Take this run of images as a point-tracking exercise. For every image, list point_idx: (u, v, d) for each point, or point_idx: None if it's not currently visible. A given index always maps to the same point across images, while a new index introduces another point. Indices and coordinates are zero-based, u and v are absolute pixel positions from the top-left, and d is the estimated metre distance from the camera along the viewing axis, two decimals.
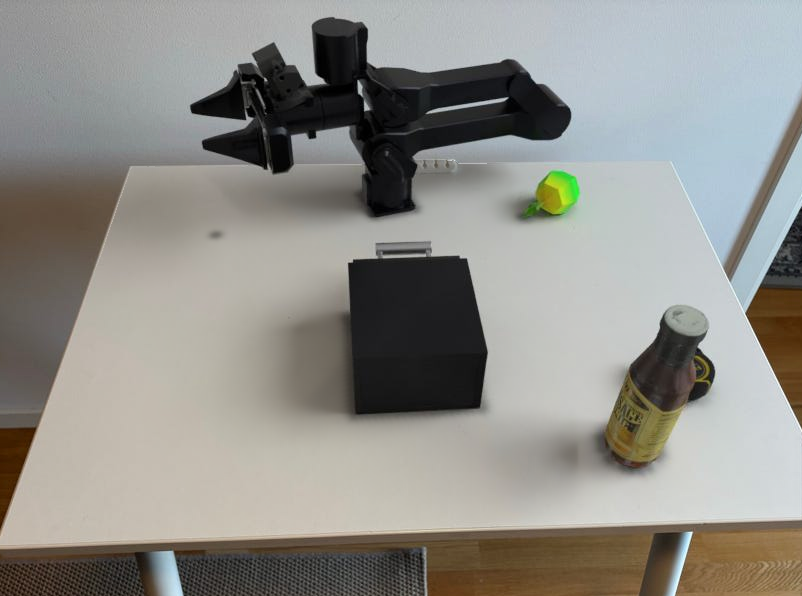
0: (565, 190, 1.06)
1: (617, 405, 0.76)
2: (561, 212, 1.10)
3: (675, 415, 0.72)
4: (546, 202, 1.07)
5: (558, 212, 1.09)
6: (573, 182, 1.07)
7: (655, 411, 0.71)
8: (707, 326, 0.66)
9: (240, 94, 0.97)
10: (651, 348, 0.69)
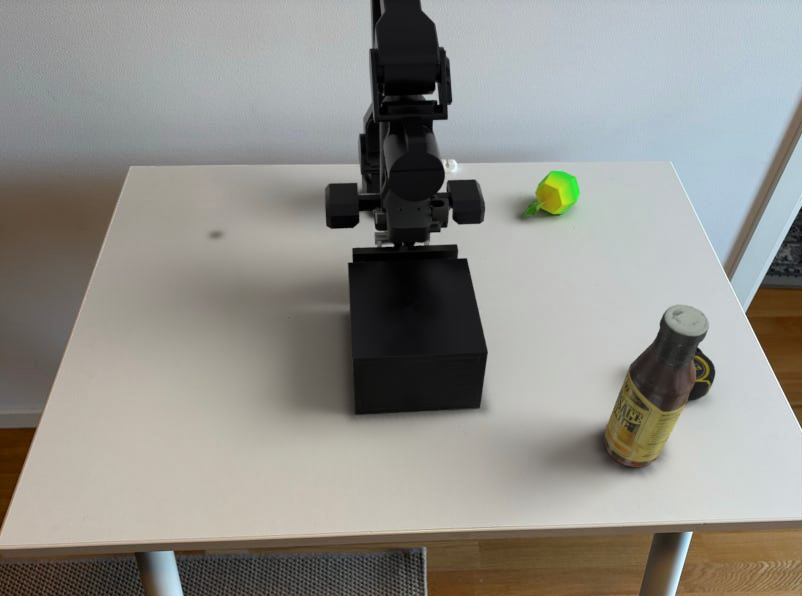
0: (565, 189, 1.06)
1: (617, 405, 0.76)
2: (561, 212, 1.10)
3: (675, 415, 0.72)
4: (546, 202, 1.07)
5: (558, 212, 1.09)
6: (573, 182, 1.07)
7: (655, 411, 0.71)
8: (707, 326, 0.66)
9: None
10: (651, 348, 0.69)
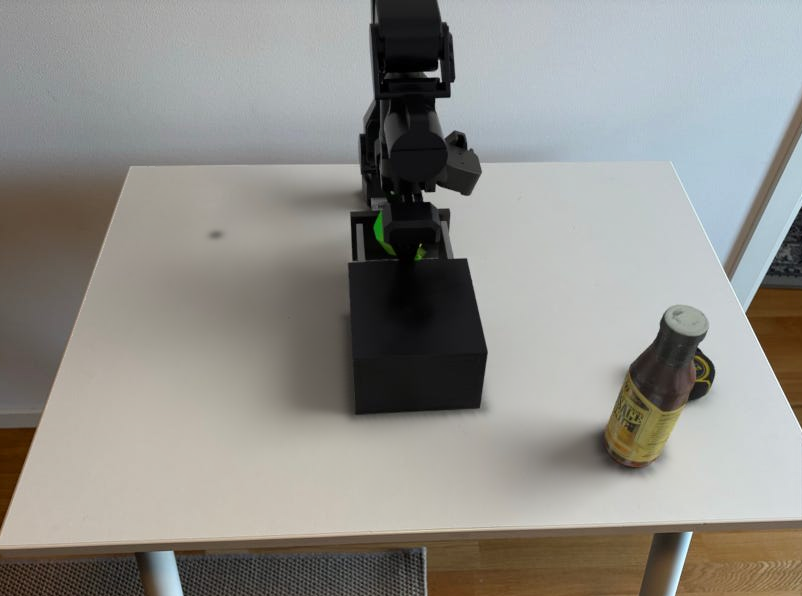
0: None
1: (617, 405, 0.76)
2: None
3: (675, 415, 0.72)
4: None
5: None
6: None
7: (655, 411, 0.71)
8: (707, 326, 0.66)
9: None
10: (651, 348, 0.69)
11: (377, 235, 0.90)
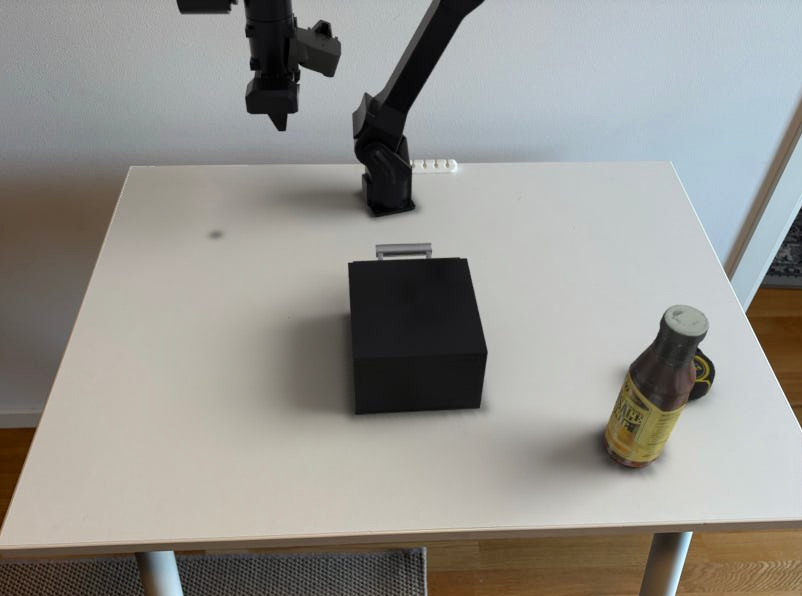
0: None
1: (617, 405, 0.76)
2: None
3: (675, 415, 0.72)
4: None
5: None
6: None
7: (655, 411, 0.71)
8: (707, 326, 0.66)
9: None
10: (651, 348, 0.69)
11: None
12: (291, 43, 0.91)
